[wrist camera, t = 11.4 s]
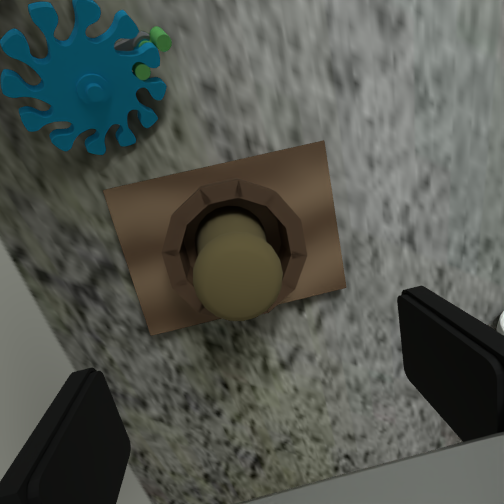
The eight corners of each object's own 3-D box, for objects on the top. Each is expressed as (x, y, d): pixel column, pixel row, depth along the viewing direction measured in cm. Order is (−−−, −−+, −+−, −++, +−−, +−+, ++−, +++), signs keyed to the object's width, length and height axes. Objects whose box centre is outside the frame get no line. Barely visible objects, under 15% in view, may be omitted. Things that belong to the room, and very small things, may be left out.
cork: (199, 279, 29) (190, 344, 19) (190, 209, 28) (174, 237, 17) (268, 271, 30) (298, 331, 19) (263, 202, 28) (293, 225, 18)
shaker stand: (107, 189, 28) (84, 194, 23) (319, 141, 29) (341, 136, 24) (153, 329, 31) (141, 359, 26) (341, 283, 32) (363, 304, 27)
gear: (74, 182, 26) (-50, 55, 17) (57, 138, 29) (-57, 11, 20) (200, 112, 27) (143, -40, 18) (172, 77, 30) (111, -68, 21)
